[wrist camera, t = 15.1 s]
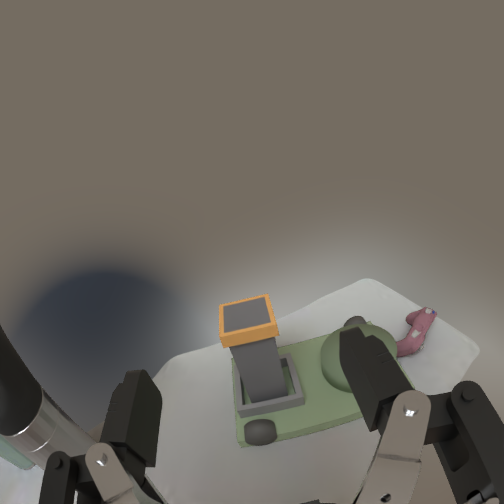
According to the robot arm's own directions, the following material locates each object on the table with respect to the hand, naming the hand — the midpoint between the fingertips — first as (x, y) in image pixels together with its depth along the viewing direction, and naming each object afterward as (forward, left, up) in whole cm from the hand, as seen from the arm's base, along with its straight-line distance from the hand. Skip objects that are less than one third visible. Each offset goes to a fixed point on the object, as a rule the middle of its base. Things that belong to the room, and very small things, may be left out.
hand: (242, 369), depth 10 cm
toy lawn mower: (+6, +18, -26) cm, 32 cm away
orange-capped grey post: (-1, +18, -24) cm, 30 cm away
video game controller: (+23, +19, -26) cm, 40 cm away
